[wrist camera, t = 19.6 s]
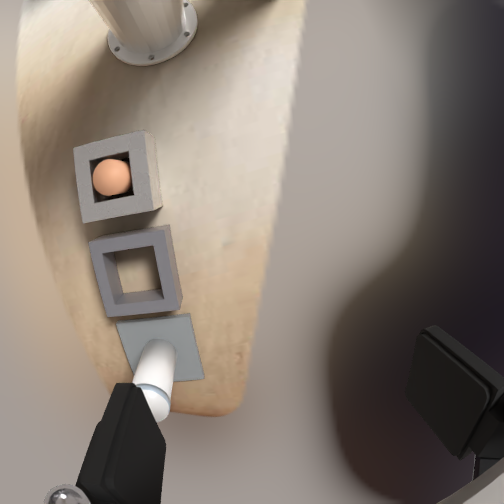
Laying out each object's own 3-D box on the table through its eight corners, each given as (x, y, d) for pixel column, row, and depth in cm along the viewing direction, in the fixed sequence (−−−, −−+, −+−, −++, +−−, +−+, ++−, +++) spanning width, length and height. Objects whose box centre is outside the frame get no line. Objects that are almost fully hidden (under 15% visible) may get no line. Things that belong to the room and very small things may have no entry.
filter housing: (99, 236, 36) (88, 242, 32) (169, 224, 36) (164, 229, 33) (116, 304, 38) (107, 317, 34) (182, 297, 39) (179, 309, 35)
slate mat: (117, 320, 39) (115, 323, 38) (189, 313, 40) (189, 316, 39) (138, 379, 41) (137, 383, 40) (204, 374, 42) (204, 378, 41)
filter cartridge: (139, 339, 39) (118, 391, 27) (173, 336, 39) (162, 390, 28) (148, 368, 40) (133, 422, 28) (181, 366, 40) (174, 422, 29)
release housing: (91, 151, 33) (73, 147, 27) (154, 136, 33) (144, 129, 28) (99, 217, 35) (82, 223, 30) (162, 205, 36) (154, 210, 30)
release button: (106, 165, 32) (90, 163, 28) (135, 158, 33) (123, 155, 28) (110, 195, 33) (95, 198, 29) (139, 190, 34) (127, 192, 29)
